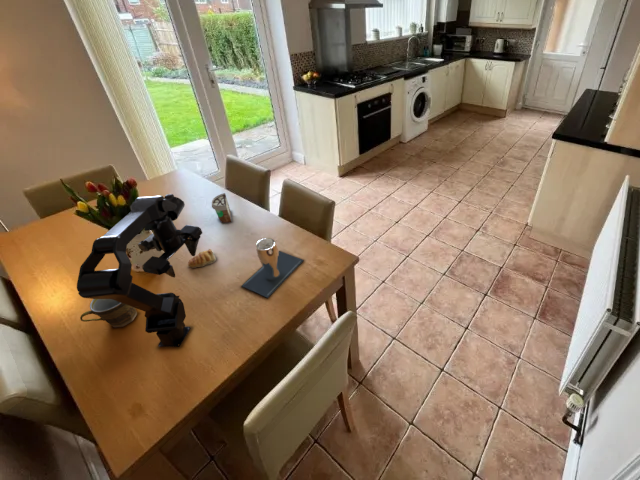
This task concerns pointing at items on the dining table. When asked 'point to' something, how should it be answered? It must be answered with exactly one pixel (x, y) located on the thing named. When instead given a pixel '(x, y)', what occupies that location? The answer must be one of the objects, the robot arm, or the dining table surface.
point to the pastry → (202, 259)
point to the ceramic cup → (111, 312)
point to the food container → (222, 208)
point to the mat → (269, 286)
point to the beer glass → (269, 258)
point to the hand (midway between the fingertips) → (183, 265)
